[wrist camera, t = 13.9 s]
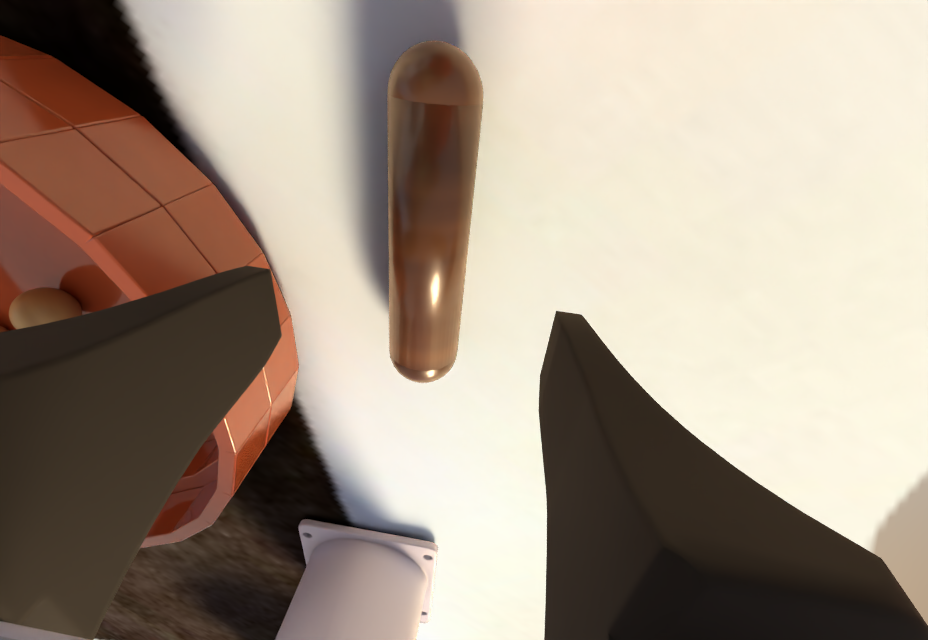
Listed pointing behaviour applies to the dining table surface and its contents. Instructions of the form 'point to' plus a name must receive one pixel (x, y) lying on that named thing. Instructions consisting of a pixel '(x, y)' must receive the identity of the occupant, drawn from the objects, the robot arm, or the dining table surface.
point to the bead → (42, 307)
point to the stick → (430, 202)
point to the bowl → (126, 245)
